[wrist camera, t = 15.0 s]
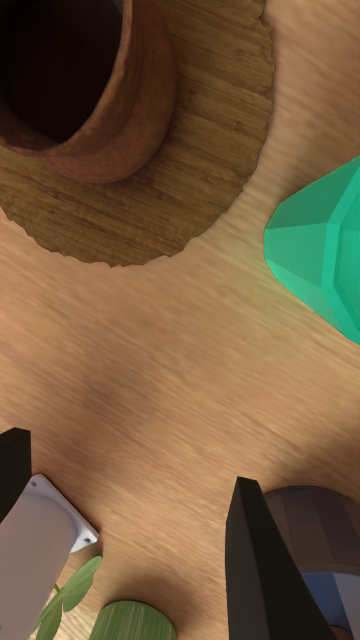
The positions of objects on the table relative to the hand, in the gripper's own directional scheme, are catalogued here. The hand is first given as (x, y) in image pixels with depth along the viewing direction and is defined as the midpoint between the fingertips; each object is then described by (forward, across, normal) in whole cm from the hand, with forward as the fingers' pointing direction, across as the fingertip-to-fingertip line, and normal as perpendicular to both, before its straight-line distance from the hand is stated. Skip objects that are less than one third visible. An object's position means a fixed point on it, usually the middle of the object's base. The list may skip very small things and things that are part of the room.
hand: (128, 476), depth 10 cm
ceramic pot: (+10, +6, -14) cm, 18 cm away
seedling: (+11, +7, +22) cm, 26 cm away
